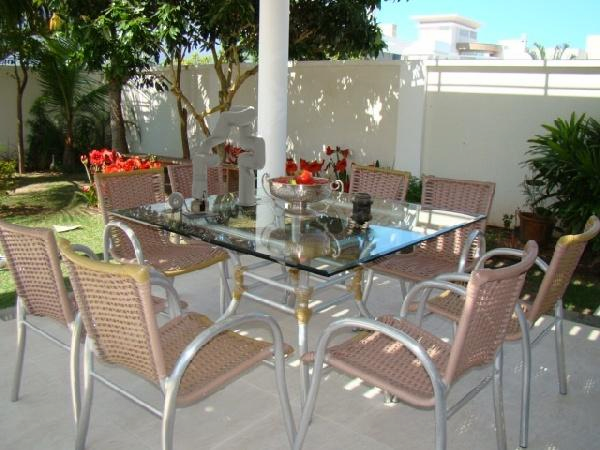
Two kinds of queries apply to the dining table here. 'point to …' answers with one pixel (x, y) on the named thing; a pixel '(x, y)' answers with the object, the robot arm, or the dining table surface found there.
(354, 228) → the dining table surface
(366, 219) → the apothecary jar
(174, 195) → the donut
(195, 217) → the mat
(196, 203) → the tan rectangular block
